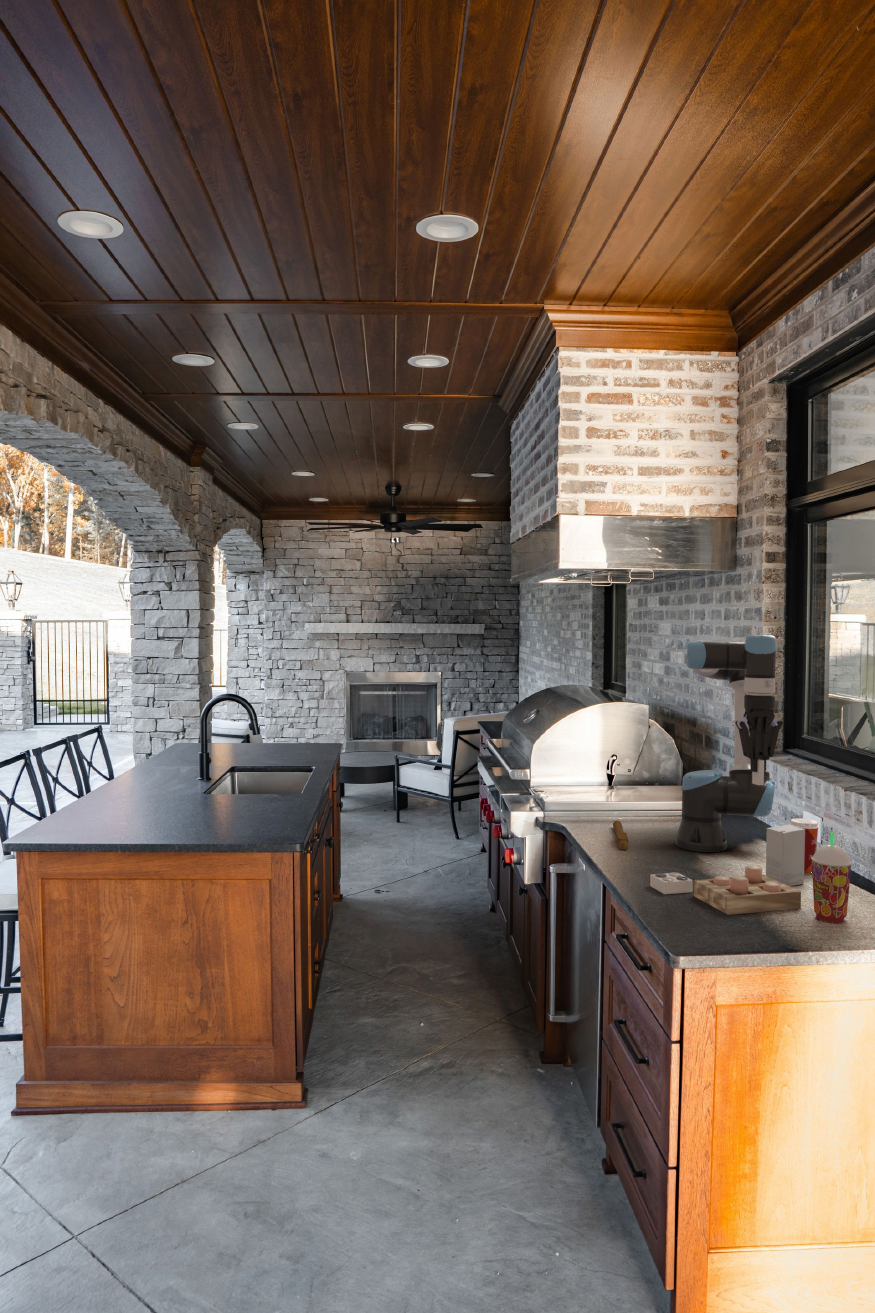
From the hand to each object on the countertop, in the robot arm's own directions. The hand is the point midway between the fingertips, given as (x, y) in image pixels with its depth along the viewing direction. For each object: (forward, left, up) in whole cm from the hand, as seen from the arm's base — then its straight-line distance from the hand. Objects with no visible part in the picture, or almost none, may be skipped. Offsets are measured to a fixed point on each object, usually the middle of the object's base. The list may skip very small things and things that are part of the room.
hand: (757, 784), depth 213 cm
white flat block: (-1, -24, -26) cm, 36 cm away
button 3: (+8, -7, -23) cm, 25 cm away
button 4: (+16, -7, -25) cm, 30 cm away
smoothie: (+27, 0, -27) cm, 38 cm away
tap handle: (-52, -12, -27) cm, 60 cm away
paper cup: (-8, +21, -27) cm, 35 cm away
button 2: (+15, -16, -23) cm, 32 cm away
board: (+12, -12, -26) cm, 31 cm away
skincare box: (+1, +8, -27) cm, 28 cm away
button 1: (+9, -16, -25) cm, 31 cm away
